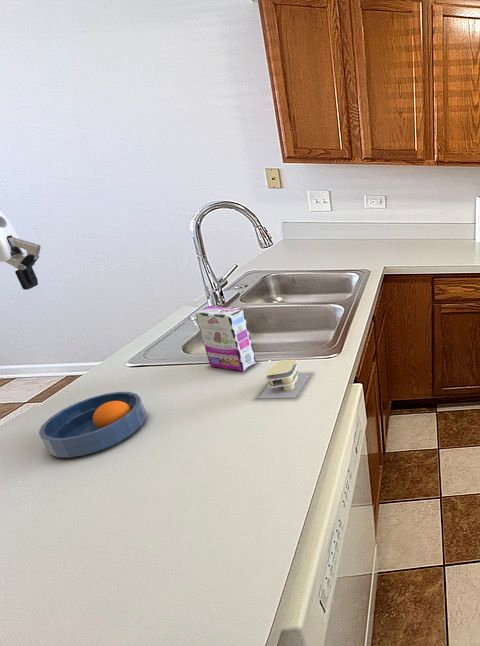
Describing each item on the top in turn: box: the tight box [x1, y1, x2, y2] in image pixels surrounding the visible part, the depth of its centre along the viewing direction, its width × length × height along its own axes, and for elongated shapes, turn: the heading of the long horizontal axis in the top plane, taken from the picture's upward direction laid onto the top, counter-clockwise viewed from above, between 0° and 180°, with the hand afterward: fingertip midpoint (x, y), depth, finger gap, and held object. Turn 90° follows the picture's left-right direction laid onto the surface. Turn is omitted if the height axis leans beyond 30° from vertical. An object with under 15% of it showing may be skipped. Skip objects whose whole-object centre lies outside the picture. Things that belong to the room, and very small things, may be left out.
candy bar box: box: [194, 305, 257, 372], centre depth 106 cm, size 11×5×16 cm, turn 76°
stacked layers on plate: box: [258, 359, 311, 399], centre depth 99 cm, size 10×9×6 cm
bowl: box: [38, 391, 147, 458], centre depth 83 cm, size 15×15×5 cm
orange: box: [93, 401, 131, 428], centre depth 83 cm, size 6×6×6 cm
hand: (0, 289), depth 78 cm, fingers open, 9 cm apart
